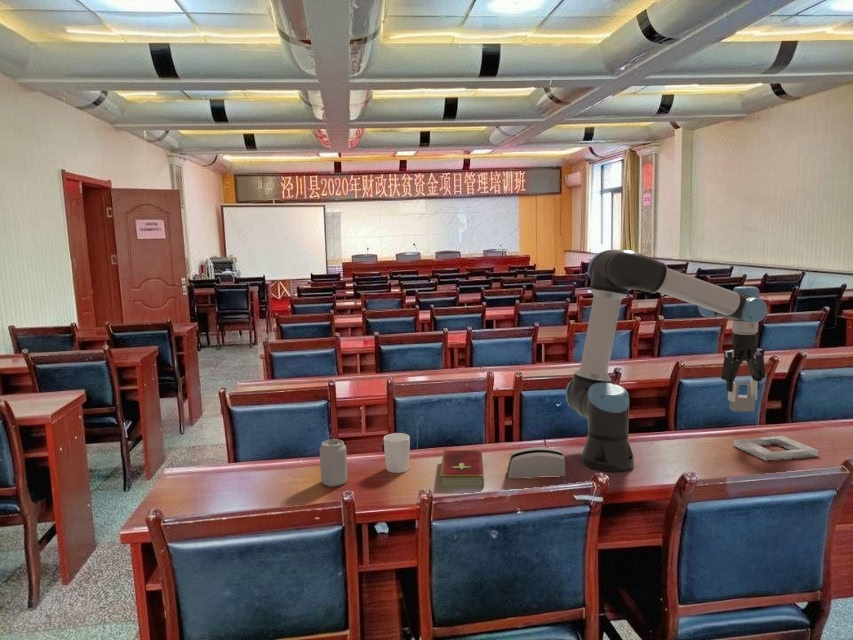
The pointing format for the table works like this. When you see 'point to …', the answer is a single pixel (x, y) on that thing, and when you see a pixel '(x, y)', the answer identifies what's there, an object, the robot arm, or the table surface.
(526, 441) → the table surface
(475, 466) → the hardcover book
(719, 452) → the table surface
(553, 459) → the napkin holder
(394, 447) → the white cup
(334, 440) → the can
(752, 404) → the padlock
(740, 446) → the holed plate
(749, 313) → the robot arm
